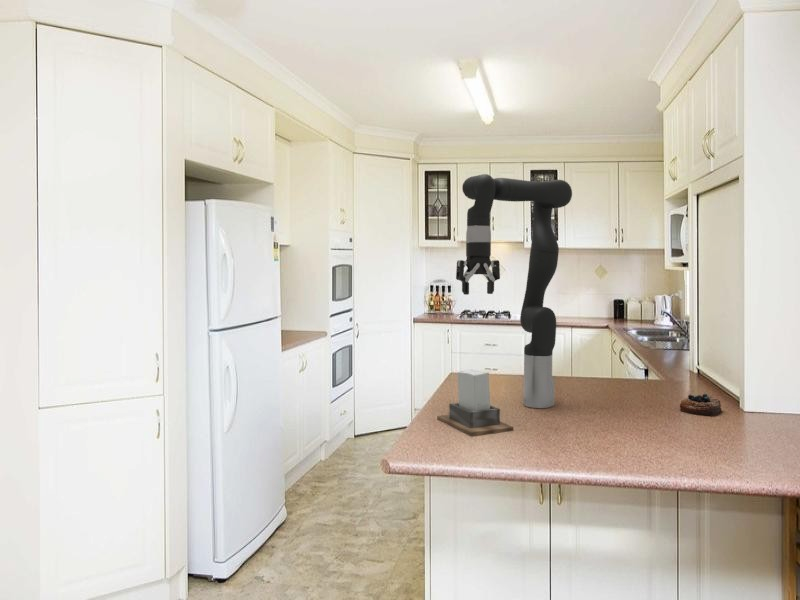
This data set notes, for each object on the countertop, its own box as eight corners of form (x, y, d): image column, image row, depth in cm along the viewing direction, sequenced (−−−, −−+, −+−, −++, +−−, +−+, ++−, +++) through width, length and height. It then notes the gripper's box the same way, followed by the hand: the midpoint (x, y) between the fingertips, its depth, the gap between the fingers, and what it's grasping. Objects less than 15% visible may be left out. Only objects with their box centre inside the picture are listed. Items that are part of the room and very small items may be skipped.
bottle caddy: (476, 414, 190) (476, 397, 189) (513, 430, 171) (513, 411, 171) (437, 419, 184) (437, 401, 184) (471, 436, 166) (471, 416, 165)
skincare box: (490, 423, 176) (491, 372, 175) (474, 426, 172) (475, 374, 171) (472, 416, 183) (473, 368, 182) (456, 419, 179) (457, 370, 179)
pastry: (725, 411, 194) (725, 393, 194) (713, 418, 185) (714, 400, 185) (689, 406, 202) (689, 388, 201) (676, 412, 193) (676, 394, 193)
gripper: (491, 242, 190) (491, 293, 191) (452, 241, 185) (451, 294, 186) (504, 241, 184) (504, 294, 185) (464, 240, 178) (464, 295, 179)
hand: (478, 294), depth 185 cm, fingers open, 8 cm apart
